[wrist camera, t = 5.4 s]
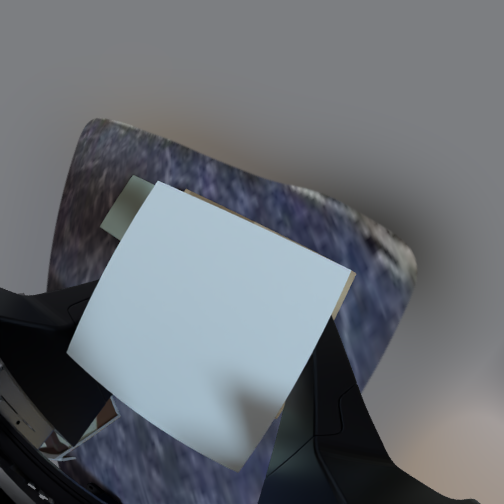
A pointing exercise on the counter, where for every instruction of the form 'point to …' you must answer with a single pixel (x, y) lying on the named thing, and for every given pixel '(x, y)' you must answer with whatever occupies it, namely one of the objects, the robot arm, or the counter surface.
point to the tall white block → (205, 322)
